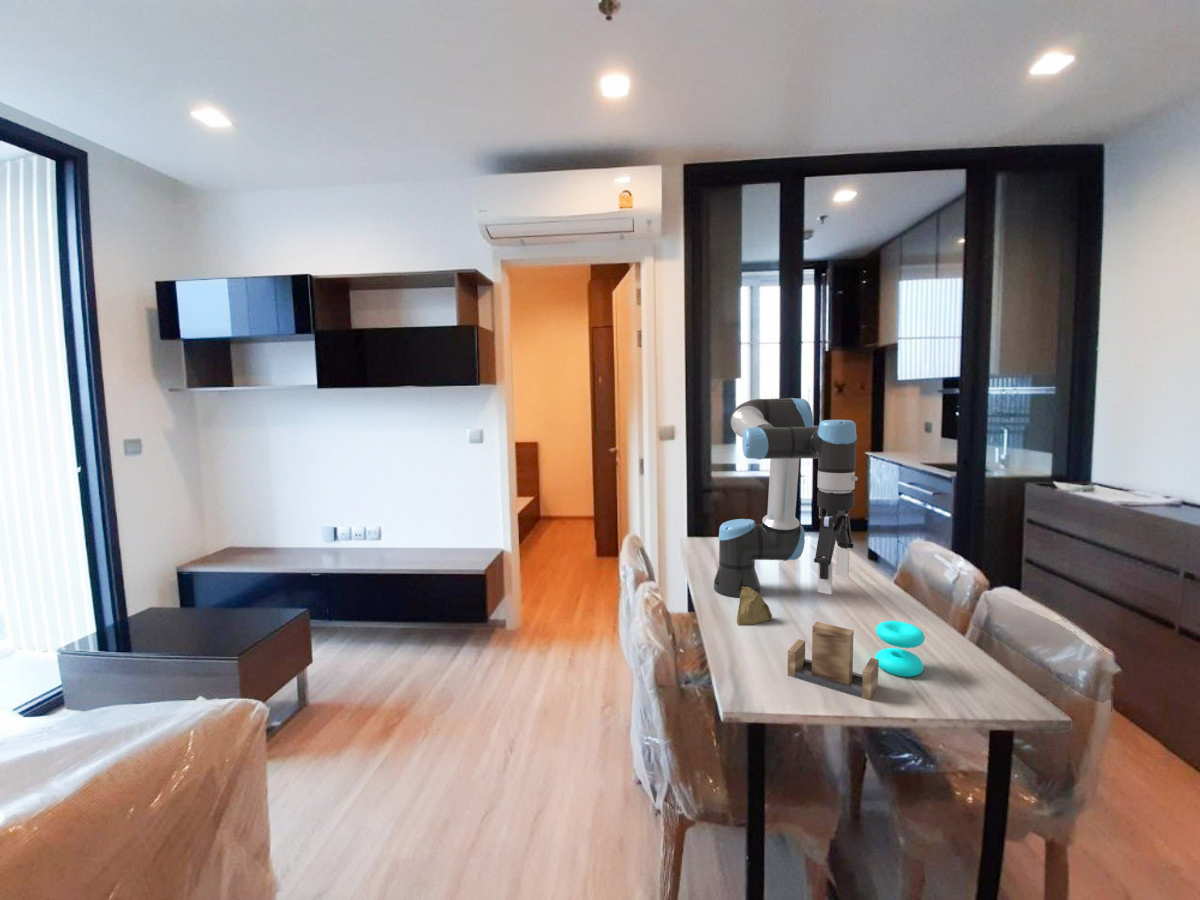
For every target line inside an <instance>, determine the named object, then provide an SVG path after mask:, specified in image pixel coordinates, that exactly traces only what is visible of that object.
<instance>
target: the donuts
mask: <svg viewBox="0 0 1200 900" xmlns="http://www.w3.org/2000/svg"><path fill="white" fill-rule="evenodd" d="M875 632H876V635H877V637H878V638H879V639H880V640H881V641H883V642H884V643H885V644H888V645H890V646H893V647H886V648H882V649H880V650H879V651H877V653H876V654H875V657H874V659H878V660H879V667H878V668H880V669H881V670H883V671H884V672H887V673H888V674H891V675H895V676H899V677H906V678H907V677H916V676H919V675H921V673H922V672H923V670H924V663H923V660H921V658H920V657H919V656H918V655H916V654H915V653H913V652H911V651H909V650H906V649H912V648H917V647H919V646H921V645H923V643H924V642H925V634H924V632H923V631H922V629H920V628H919V627H917V626H915V625H914V624H911V623H907V622H904V621H898V620H887V621H882V622H880V623H879V624H877V626H876V628H875Z"/></svg>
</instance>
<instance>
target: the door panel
mask: <svg viewBox="0 0 1200 900" xmlns="http://www.w3.org/2000/svg"><path fill="white" fill-rule="evenodd" d="M811 638H812V640H811V641H812V643H811V646H812V647H811V648H812V649H811V650H812V651H811V661H812V674H815V675H818V676H822V677H825V678H829V679H832V680H835V681H839V682H842V683H846V684H849V685H850V684H851V683H852V673H853V672H854V671H853V667H854V665H853V664H854V630H853V629H850V628H845V627H841V626H837V625H833V624H828V623H824V622H819V621H816V622H815V623H814V624H813V625H812V637H811Z"/></svg>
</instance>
